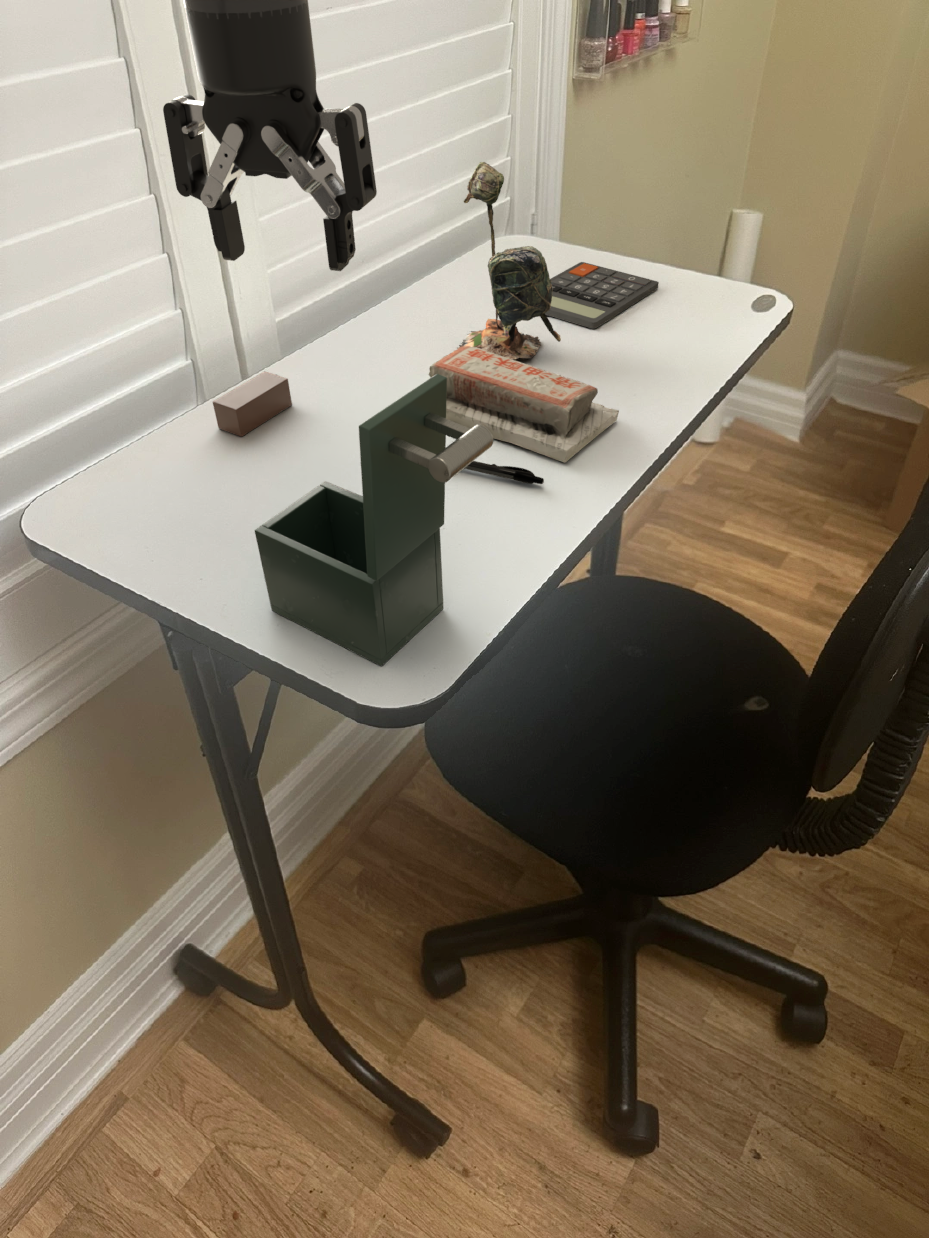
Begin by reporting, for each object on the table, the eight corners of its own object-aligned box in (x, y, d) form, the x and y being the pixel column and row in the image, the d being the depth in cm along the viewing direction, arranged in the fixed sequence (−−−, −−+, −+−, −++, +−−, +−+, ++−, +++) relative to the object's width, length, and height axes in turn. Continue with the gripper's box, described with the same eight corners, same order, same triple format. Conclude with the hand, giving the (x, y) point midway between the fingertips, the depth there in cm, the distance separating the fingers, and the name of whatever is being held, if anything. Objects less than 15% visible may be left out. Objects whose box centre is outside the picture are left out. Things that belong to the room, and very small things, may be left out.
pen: (547, 480, 82) (547, 469, 81) (540, 490, 81) (541, 479, 80) (409, 449, 86) (408, 439, 86) (401, 458, 85) (400, 447, 84)
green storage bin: (271, 610, 70) (254, 529, 64) (336, 559, 74) (325, 480, 69) (381, 666, 65) (372, 584, 60) (444, 608, 69) (440, 527, 64)
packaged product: (412, 367, 89) (472, 331, 95) (415, 411, 92) (473, 374, 98) (569, 420, 81) (624, 377, 86) (566, 466, 84) (619, 422, 90)
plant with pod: (534, 378, 97) (542, 179, 83) (447, 354, 102) (440, 161, 88) (570, 349, 102) (583, 157, 88) (485, 327, 107) (485, 141, 93)
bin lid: (358, 425, 52) (434, 458, 49) (436, 373, 56) (509, 401, 54) (366, 576, 60) (432, 610, 57) (435, 520, 64) (498, 549, 62)
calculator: (660, 280, 113) (594, 321, 105) (659, 288, 114) (594, 329, 105) (581, 260, 119) (513, 297, 110) (581, 267, 119) (513, 305, 111)
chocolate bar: (218, 428, 90) (212, 401, 88) (269, 397, 95) (264, 370, 93) (241, 437, 89) (235, 410, 87) (292, 405, 94) (288, 378, 92)
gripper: (376, -11, 56) (395, 252, 67) (175, -15, 60) (224, 236, 71) (327, 10, 51) (356, 292, 62) (110, 4, 55) (174, 272, 65)
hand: (286, 262), depth 66 cm, fingers open, 8 cm apart
